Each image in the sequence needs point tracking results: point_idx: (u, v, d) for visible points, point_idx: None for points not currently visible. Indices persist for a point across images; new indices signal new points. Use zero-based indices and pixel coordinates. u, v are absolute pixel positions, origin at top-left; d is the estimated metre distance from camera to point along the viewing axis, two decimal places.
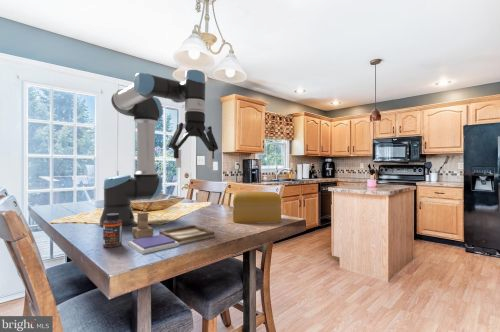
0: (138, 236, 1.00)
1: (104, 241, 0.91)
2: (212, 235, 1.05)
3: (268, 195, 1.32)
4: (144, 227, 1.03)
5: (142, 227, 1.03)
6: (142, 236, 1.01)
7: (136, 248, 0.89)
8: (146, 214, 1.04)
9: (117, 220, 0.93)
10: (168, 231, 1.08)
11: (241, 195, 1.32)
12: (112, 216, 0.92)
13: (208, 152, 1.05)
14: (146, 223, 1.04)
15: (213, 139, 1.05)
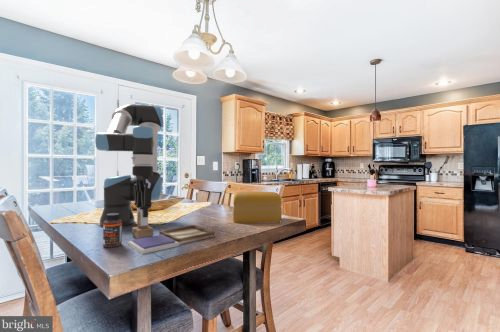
0: (138, 236, 1.00)
1: (104, 241, 0.91)
2: (212, 235, 1.05)
3: (268, 195, 1.33)
4: (144, 227, 1.03)
5: (142, 227, 1.03)
6: (142, 236, 1.01)
7: (136, 248, 0.89)
8: None
9: (117, 220, 0.93)
10: (168, 231, 1.08)
11: (241, 195, 1.32)
12: (112, 216, 0.92)
13: None
14: None
15: (144, 196, 1.00)
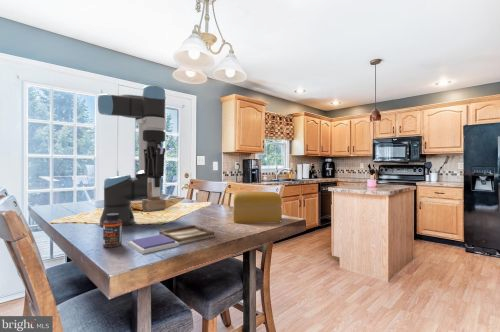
0: (149, 207, 0.90)
1: (104, 241, 0.91)
2: (212, 235, 1.05)
3: (268, 195, 1.33)
4: (155, 198, 0.93)
5: (153, 198, 0.92)
6: (154, 208, 0.91)
7: (136, 248, 0.89)
8: None
9: (117, 220, 0.93)
10: (168, 231, 1.08)
11: (242, 195, 1.32)
12: (112, 216, 0.92)
13: None
14: None
15: (156, 163, 0.89)
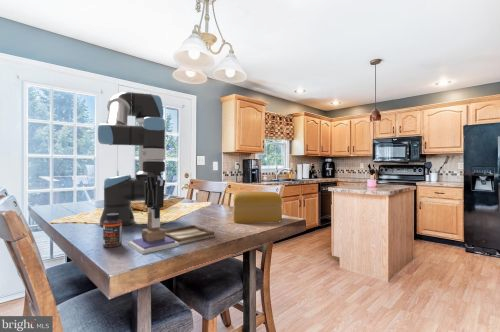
0: (149, 239, 0.90)
1: (104, 241, 0.91)
2: (212, 235, 1.05)
3: (269, 195, 1.33)
4: (155, 229, 0.93)
5: (153, 229, 0.92)
6: (153, 239, 0.91)
7: (136, 248, 0.89)
8: None
9: (117, 220, 0.93)
10: (168, 231, 1.08)
11: (242, 195, 1.32)
12: (112, 216, 0.92)
13: None
14: None
15: (156, 195, 0.89)
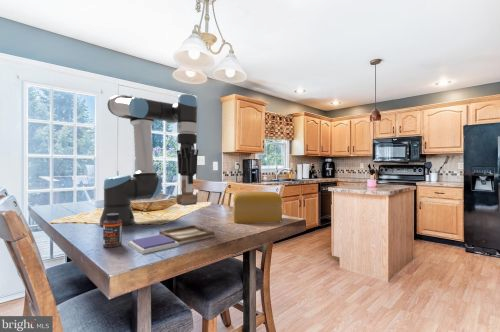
0: (184, 201, 1.02)
1: (104, 241, 0.91)
2: (212, 235, 1.05)
3: (269, 195, 1.33)
4: (189, 194, 1.05)
5: (187, 194, 1.05)
6: (188, 202, 1.03)
7: (136, 248, 0.89)
8: None
9: (117, 220, 0.93)
10: (168, 231, 1.08)
11: (242, 195, 1.32)
12: (112, 216, 0.92)
13: None
14: None
15: (190, 163, 1.02)
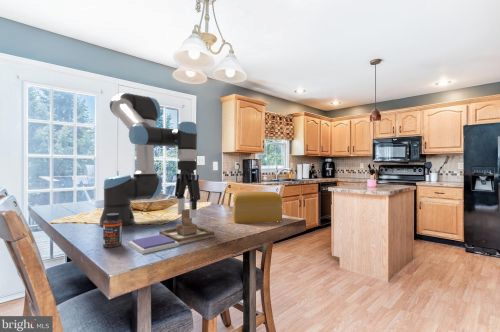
0: (184, 232, 1.02)
1: (104, 241, 0.91)
2: (212, 235, 1.05)
3: (269, 195, 1.33)
4: (188, 224, 1.05)
5: (187, 224, 1.05)
6: (187, 233, 1.03)
7: (136, 248, 0.89)
8: None
9: (117, 220, 0.93)
10: (168, 231, 1.08)
11: (242, 195, 1.31)
12: (112, 216, 0.92)
13: None
14: (190, 220, 1.06)
15: (193, 188, 1.01)
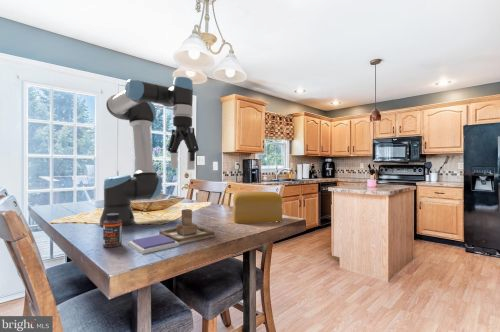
0: (184, 232, 1.02)
1: (104, 241, 0.91)
2: (212, 235, 1.05)
3: (269, 195, 1.33)
4: (188, 224, 1.05)
5: (187, 224, 1.05)
6: (187, 233, 1.03)
7: (136, 248, 0.89)
8: (190, 211, 1.06)
9: (117, 220, 0.93)
10: (168, 231, 1.08)
11: (243, 195, 1.31)
12: (112, 216, 0.92)
13: None
14: (190, 220, 1.06)
15: (190, 140, 1.00)
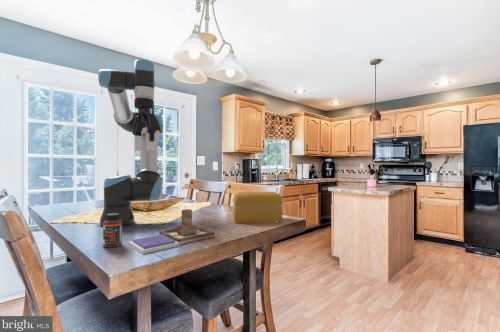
0: (184, 232, 1.02)
1: (104, 241, 0.91)
2: (212, 235, 1.05)
3: (269, 195, 1.33)
4: (188, 224, 1.05)
5: (187, 224, 1.05)
6: (187, 233, 1.03)
7: (136, 248, 0.89)
8: (190, 211, 1.06)
9: (117, 220, 0.93)
10: (168, 231, 1.08)
11: (243, 195, 1.31)
12: (112, 216, 0.92)
13: None
14: (190, 220, 1.06)
15: (148, 120, 1.02)
